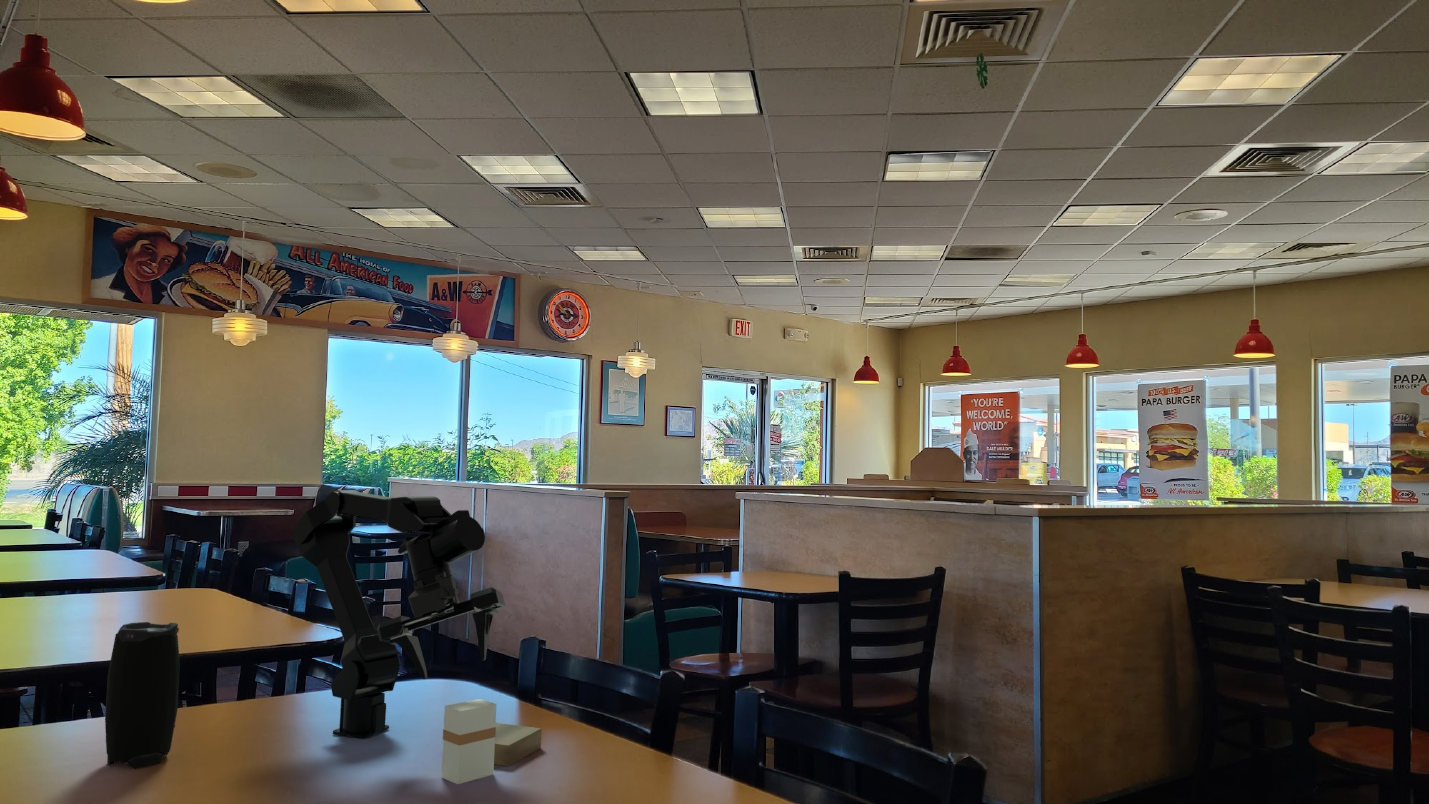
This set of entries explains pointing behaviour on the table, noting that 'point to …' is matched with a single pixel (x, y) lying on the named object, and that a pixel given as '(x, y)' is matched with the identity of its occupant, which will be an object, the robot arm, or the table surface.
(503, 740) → the base
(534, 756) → the table surface
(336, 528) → the robot arm
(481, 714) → the carton
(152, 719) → the portable speaker
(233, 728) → the table surface
